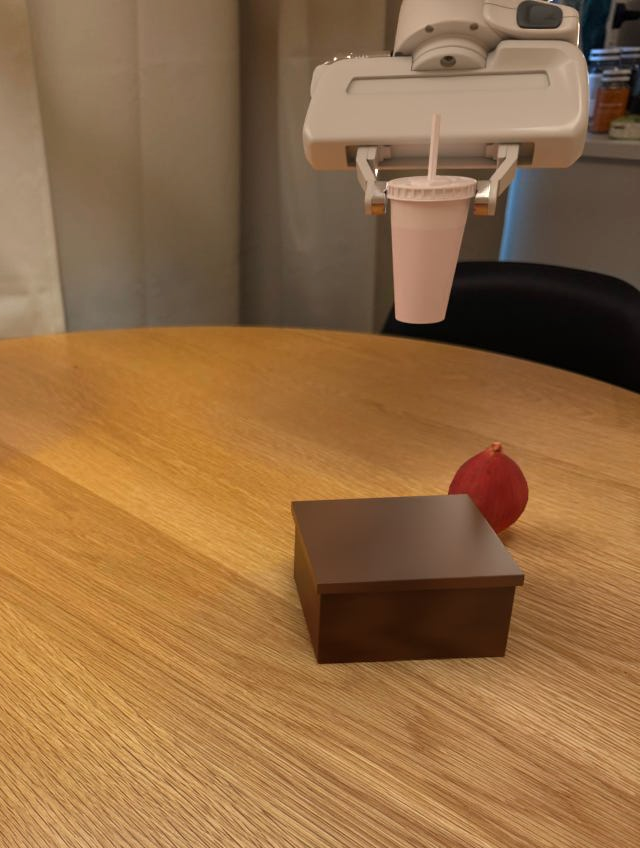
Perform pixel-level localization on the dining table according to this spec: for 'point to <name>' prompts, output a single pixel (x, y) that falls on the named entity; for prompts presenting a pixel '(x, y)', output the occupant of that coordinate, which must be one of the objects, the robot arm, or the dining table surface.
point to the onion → (493, 486)
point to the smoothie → (427, 237)
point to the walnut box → (402, 578)
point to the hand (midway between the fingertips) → (429, 210)
